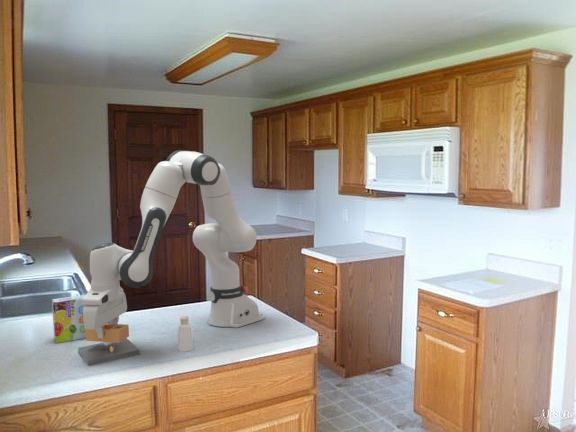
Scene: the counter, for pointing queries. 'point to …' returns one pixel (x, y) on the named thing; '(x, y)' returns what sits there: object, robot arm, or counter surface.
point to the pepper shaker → (185, 335)
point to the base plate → (107, 352)
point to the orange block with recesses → (109, 333)
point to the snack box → (68, 319)
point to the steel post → (107, 345)
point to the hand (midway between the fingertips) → (107, 333)
